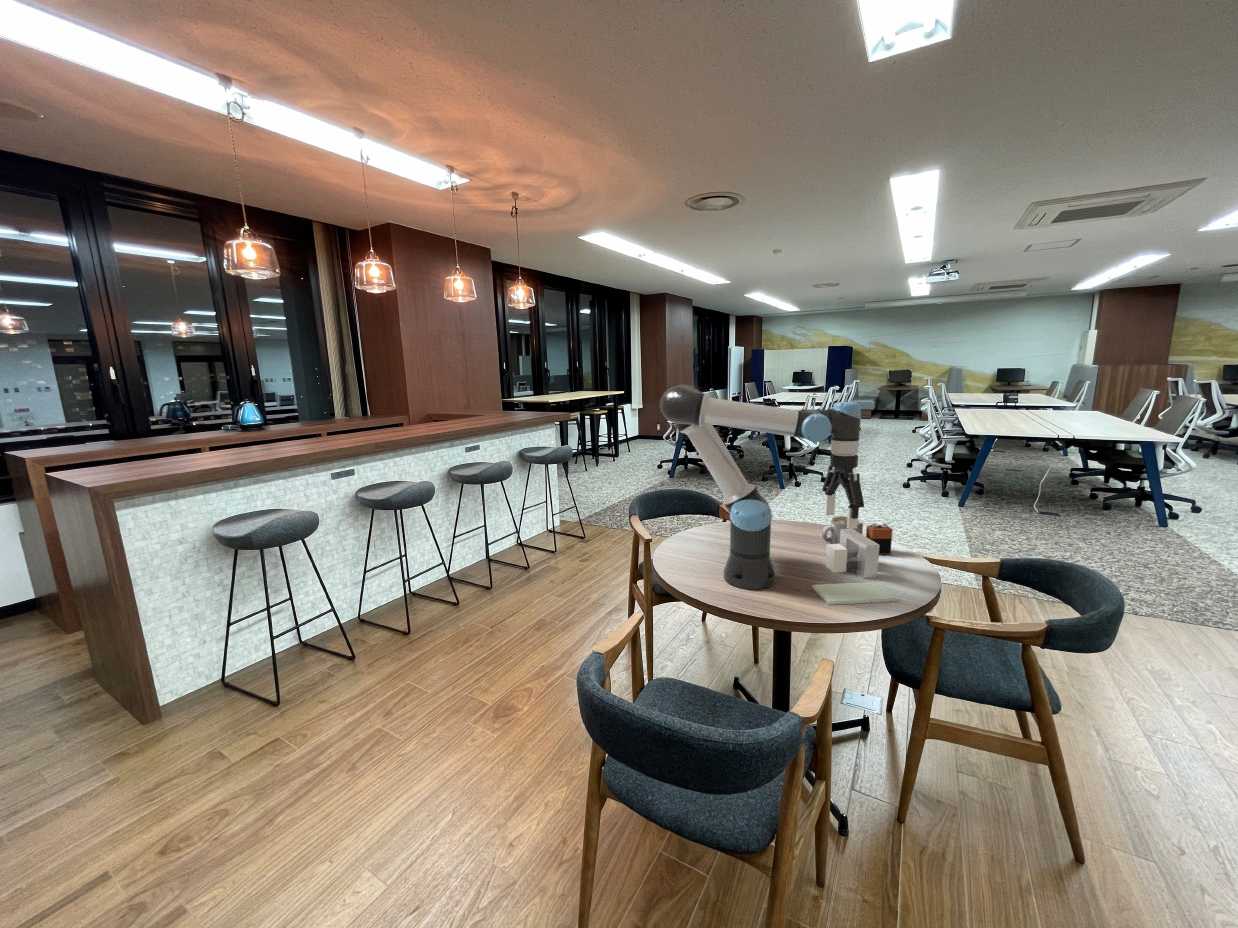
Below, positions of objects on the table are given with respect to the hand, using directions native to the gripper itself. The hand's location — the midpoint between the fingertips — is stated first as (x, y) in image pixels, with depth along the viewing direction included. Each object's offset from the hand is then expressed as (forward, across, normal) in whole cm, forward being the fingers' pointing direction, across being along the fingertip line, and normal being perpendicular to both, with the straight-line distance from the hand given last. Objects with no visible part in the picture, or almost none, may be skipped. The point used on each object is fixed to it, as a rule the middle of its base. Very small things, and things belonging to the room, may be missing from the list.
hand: (840, 521), depth 146 cm
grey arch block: (+16, 0, -6) cm, 17 cm away
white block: (+16, 0, -4) cm, 16 cm away
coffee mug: (+16, +18, -10) cm, 26 cm away
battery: (+16, +12, -20) cm, 29 cm away
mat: (+16, -17, +4) cm, 24 cm away
